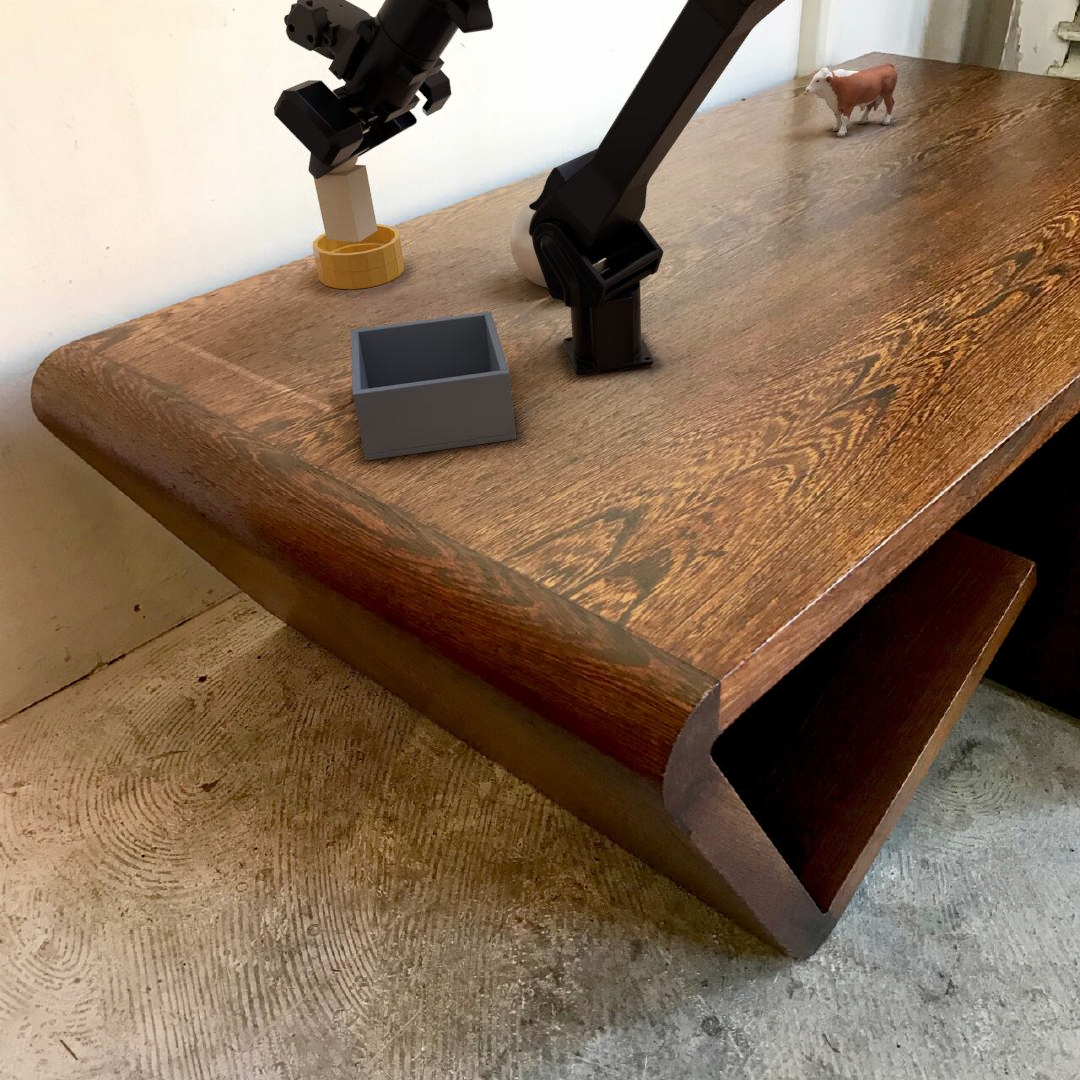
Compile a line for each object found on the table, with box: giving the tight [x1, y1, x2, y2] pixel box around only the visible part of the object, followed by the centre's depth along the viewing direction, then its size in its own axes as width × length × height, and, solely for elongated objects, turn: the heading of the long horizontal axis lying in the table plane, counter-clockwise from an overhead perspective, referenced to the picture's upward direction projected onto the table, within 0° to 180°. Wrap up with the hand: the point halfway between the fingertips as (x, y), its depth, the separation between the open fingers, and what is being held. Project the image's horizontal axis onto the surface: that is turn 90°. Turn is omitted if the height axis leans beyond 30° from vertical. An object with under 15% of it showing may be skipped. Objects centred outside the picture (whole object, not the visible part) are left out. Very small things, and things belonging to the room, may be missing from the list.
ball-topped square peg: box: [312, 155, 378, 242], centre depth 95 cm, size 4×4×10 cm
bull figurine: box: [805, 62, 898, 137], centre depth 134 cm, size 4×13×8 cm, turn 115°
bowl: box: [312, 223, 406, 290], centre depth 106 cm, size 9×9×4 cm
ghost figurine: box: [509, 194, 599, 289], centre depth 98 cm, size 9×10×10 cm
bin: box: [350, 311, 517, 461], centre depth 81 cm, size 11×11×6 cm
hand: (326, 167), depth 94 cm, fingers closed on ball-topped square peg, 4 cm apart
